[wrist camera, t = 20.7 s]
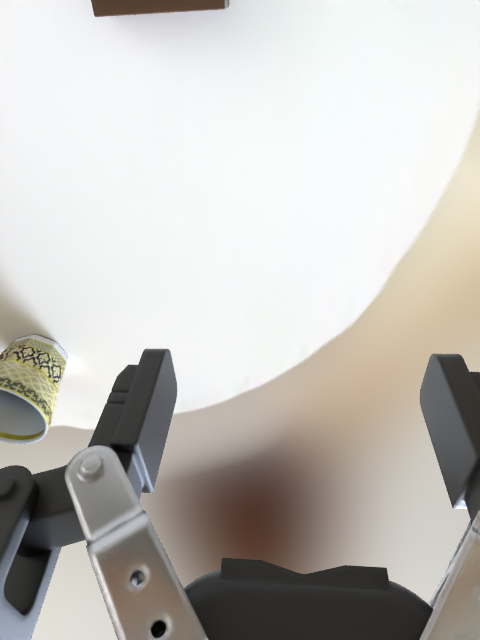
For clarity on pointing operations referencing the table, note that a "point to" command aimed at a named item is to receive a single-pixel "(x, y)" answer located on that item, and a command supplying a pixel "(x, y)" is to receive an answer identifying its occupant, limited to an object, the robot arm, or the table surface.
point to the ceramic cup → (29, 388)
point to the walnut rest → (153, 6)
